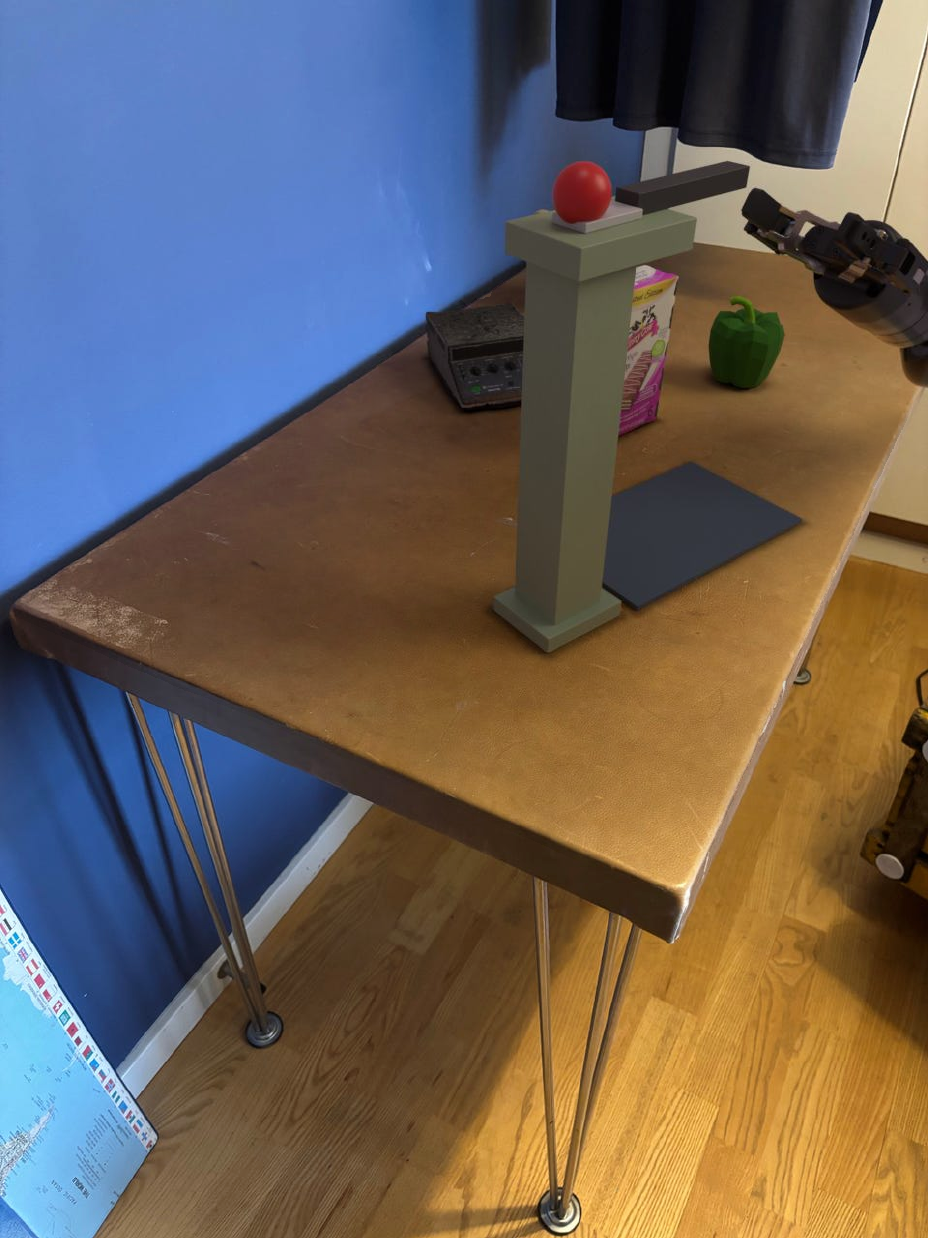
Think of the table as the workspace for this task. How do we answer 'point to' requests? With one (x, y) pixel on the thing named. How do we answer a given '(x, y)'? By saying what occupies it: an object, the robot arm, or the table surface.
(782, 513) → the mat
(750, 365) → the bell pepper
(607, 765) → the table surface
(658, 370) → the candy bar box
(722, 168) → the bar with red ball
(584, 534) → the stand
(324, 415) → the table surface
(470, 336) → the electronic device
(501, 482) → the table surface
